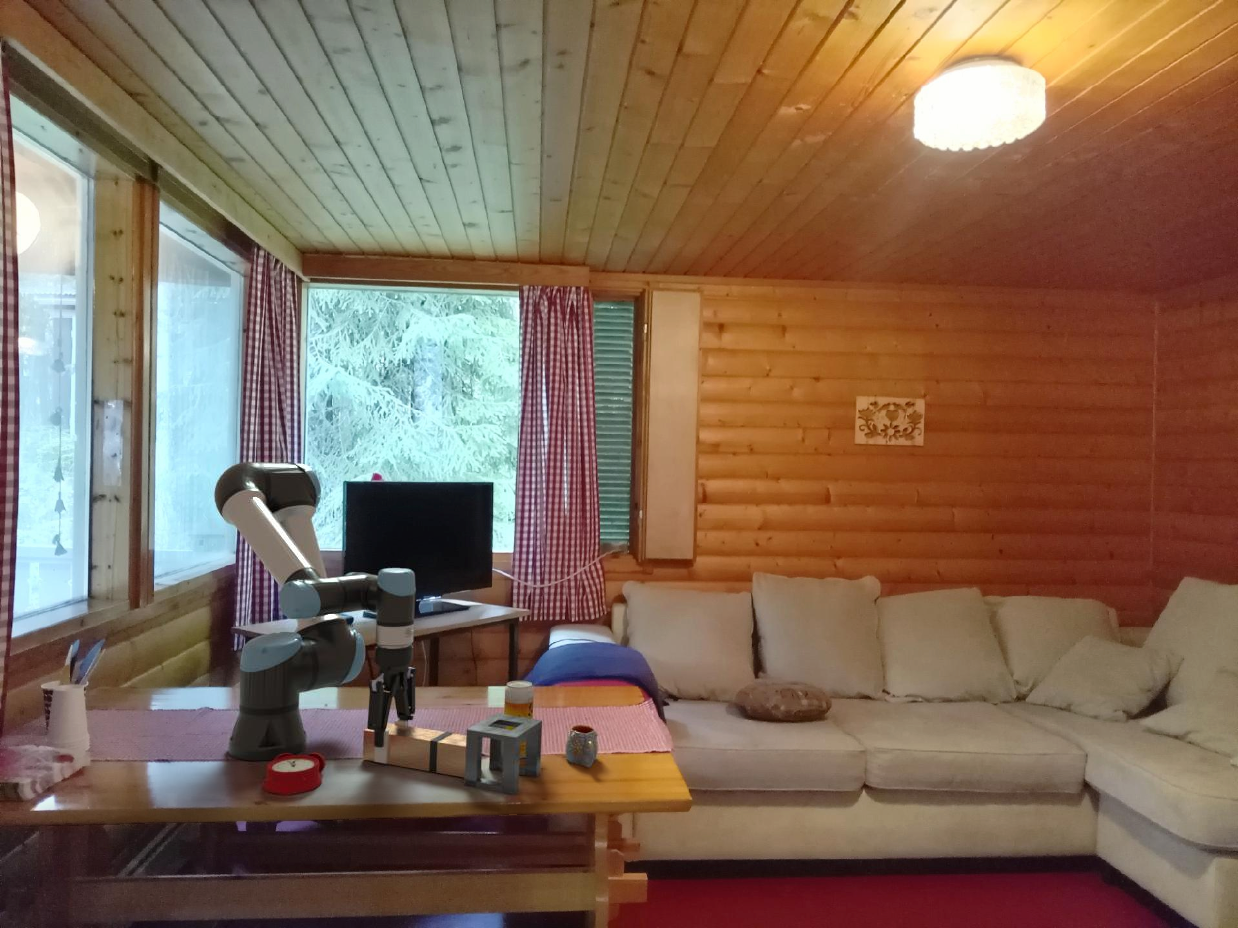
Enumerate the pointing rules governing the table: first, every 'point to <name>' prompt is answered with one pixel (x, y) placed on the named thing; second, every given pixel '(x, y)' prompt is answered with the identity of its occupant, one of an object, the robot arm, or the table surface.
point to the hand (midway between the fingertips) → (390, 756)
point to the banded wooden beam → (421, 749)
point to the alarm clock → (294, 773)
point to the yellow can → (519, 704)
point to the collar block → (503, 751)
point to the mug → (582, 745)
